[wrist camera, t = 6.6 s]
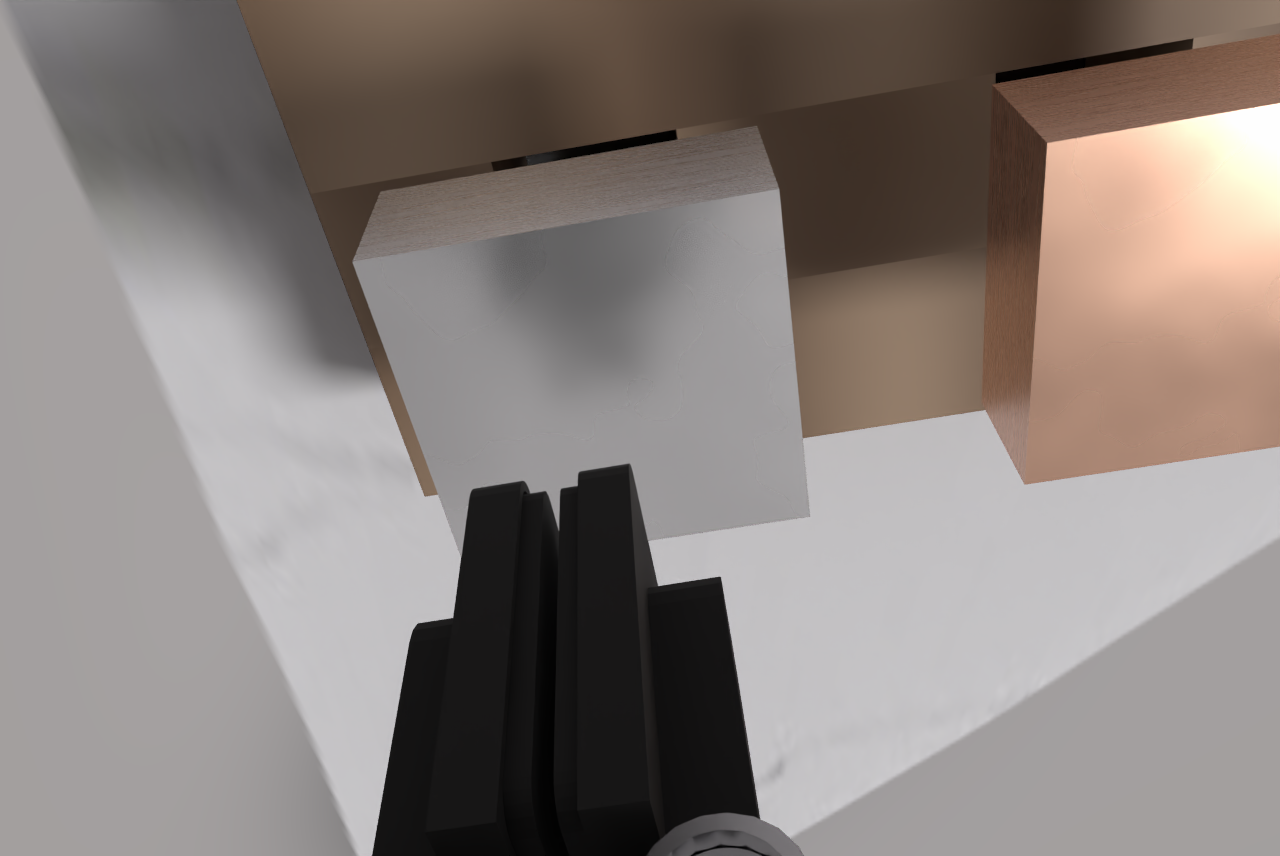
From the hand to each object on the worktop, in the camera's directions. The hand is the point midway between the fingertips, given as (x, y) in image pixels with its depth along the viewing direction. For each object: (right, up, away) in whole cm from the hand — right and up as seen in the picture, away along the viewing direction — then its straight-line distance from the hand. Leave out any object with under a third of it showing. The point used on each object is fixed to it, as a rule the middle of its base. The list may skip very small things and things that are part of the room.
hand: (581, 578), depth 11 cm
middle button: (+8, +7, +7) cm, 12 cm away
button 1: (0, +6, +7) cm, 9 cm away
